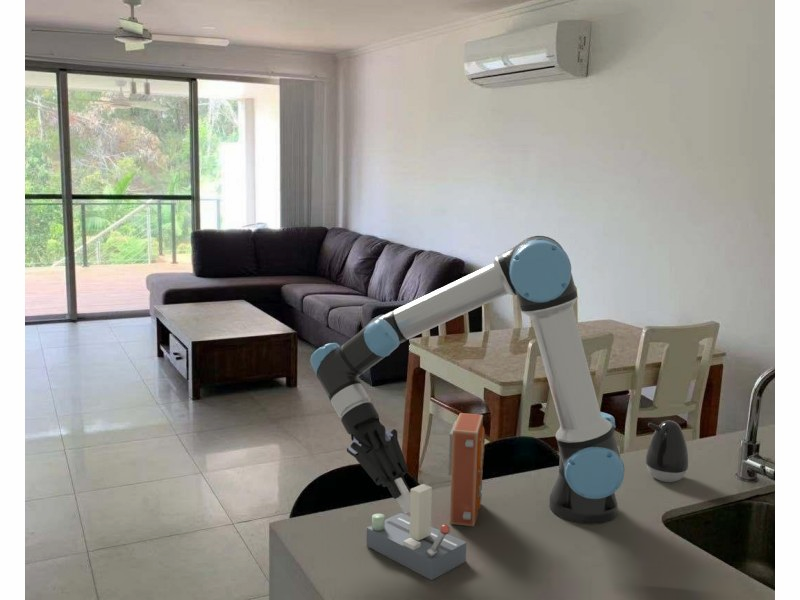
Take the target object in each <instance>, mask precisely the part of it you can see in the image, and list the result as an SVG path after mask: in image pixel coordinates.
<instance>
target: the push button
mask: <svg viewBox="0 0 800 600" xmlns="http://www.w3.org/2000/svg"><path fill="white" fill-rule="evenodd" d="M385 519H386V516H385V514H383V513H374V514H372V515H371V526H372V529H374V530H377V531H379V530H383V529H384V528H385Z"/></svg>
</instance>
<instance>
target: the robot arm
mask: <svg viewBox="0 0 800 600" xmlns="http://www.w3.org/2000/svg"><path fill="white" fill-rule="evenodd" d="M571 263H572V262H571V260H570V258H569V256H568V254H567V252H566V251H565V249H564V248H563V247H562V245H561V244H560V243H559V242H558V241H556V239H553V238H552V237H549V236H545V235H534V236H529V237H527V238H525V239H524V240H522V241H521V242H519V243H518V244H516V245H515V246H513V247H511V248H510V249H508V250H507V251H504V252H503V253H500V254H497V256H495V258H494V261H493V263H490V264H488V265H485V266H484V267H482V268H480V269H477V270H476V271H474V272H471V273H469V274H467V275H465V276H462V277H461V278H459V279H457V280H454V281H453V282H450V283H448V284H446V285H444V286H442V287H440V288H437V289H435V290H433V291H431V292H430V293H427V294H425V295H423V296H421V297H418V298H417V299H414V300H412V301H410V302H408V303H406V304H404V305H401V306H399V307H398V308H395V309H394V310H392V311H389V312H387V313H385V314H380V315H378V316H376V317H374V318H371V320H370V321H369V322H368V324H367V325H365V327H363V328H362V329H361V330H360V331H359V332H358V333H356V334H355V335H354V336H353V337H351V338H350V339H349V340H348V341H346V342H345V343H344V344H342V345H340V344H339V343H337V342H329V343H326V344H324V345H323V346H321V347H319V348H317V349H316V350H315V351H314V352H313V353H312V354H311V356H310V359H309V360H310V365H311V368H312V369H313V371H314V373H315V377H316V379H317V380H318V381H319V383H320V384H321V387H322V389H323V390H324V392H325V394H326V395H327V397H328V399H329V401H330V403H331V405H332V406H333V409H334V410H335V412H336V415H337V416H338V417H339V418H341V420H340V422H341V424H342V425H343V427H344V429H345V431H346V433H347V434H348V435H349V436H350V439H351V443H350V445H349V446H348V447H347V448H346V452H347V453H348V454H349V455H351V456H352V457H354V458H355V460H356V461H357V462H358V463H359V464H360V466H361V467H362V468H363V470H364V471H365V472H366V473H367V475H368V476H369V477H370V478H371V480H372V481H373V482H374V483H375V484H376V485H377V486H380V485H381V487H383V488H386V487H387V489H388V491H389V493H390V495H391V496H392V498H393V499H394V500H396V501H397V503H398V505H399V506H400V509H401V510H402V513H403V514H405V515H407V514H408V513H410V492H411V488H410V487H409V485H408V483H407V481H406V480H405V477H404V476H405V475H406V473H407V472H408V471H409V469H408V465H407V463H406V459H405V457H404V454H403V451H402V449H401V446H400V443H399V440H398V431H397V429H395V428H394V429H392V430H389V429H386V427H385V425H383V424H382V423H381V422H380V414H379V413H378V412H377V409H376V408H375V406H374V404H373V403H372V402H370V401H371V398H370V397H369V395H368V393H367V391H366V390H365V388H364V386H363V385H362V383H361V381H360V380H359V377H360V376H361V375H363V374H364V373H365V372H367V371H368V370H369V369H370V368H372V367H373V366H375V365H376V364H378V363H379V362H380V361H382V360H383V359H385V357H388V356H391V354H392V353H393V352H394V351H395V350H396V349H397V348H398V347H399V346H400V344H402V343H404V342H406V341H407V340H410V339H412V338H414V337H416V336H418V335H420V334H423V333H425V332H427V331H429V330H431V329H434V328H436V327H437V326H438V327H439V326H441V325H443V324H445V323H447V322H449V321H452V320H454V319H456V318H457V317H460V316H462V315H464V314H467V313H469V312H471V311H473V310H475V309H478V308H480V307H482V306H484V305H487V304H488V303H491V302H493V301H495V300H497V299H500V298H501V297H504V296H507V295H510V296H513V297H514V296H516V297H517V301H518V304H519V305H518V306H519V308H520V312H521V313H523V314H524V315H526V316H527V317H529V318H530V319H531V323H532V327H533V330H534V334H535V338H536V341H537V345H538V349H539V352H540V356H541V360H542V363H543V367H544V368H543V369H544V372H545V375H546V379H547V381H548V387H549V389H550V392H551V397H552V399H553V403H554V407H555V412H556V415H557V418H558V422H559V427H558V430H557V431H556V433H555V439H556V442H557V446H558V450H559V463H558V464H559V466H558V475H557V478H556V480H555V482H554V485H553V488H552V490H551V493H550V494H549V495H550V496H549V505H548V506H549V510H551V512H552V513H553V514H554V515H556V516H558V517H560V518H561V519H564V520H566V521H570V522H574V523H578V524H579V523H580V524H589V525H595V524H597V525H598V524H605V523H608V522H611V521H613V520H614V519H615V518H616V517H617V516H618V515H617V514H618V501H617V497H616V494H615V492H616V491H618V490H619V489H620V487H621V486H622V484H623V482H624V478H625V464H624V461H623V460H622V458H621V455H620V451H619V447H618V443H617V440H616V436H615V431H616V430H615V429H616V427H617V426H616V421H615V420H616V419H615V417H614V416H613V415H611V414H609V413H606V412H603V411H601V408H600V405H599V402H598V397H597V394H596V389H595V385H594V384H593V379H592V376H591V371H590V369H589V364H588V360H587V357H586V353H585V349H584V345H583V341H582V338H581V334H580V329H579V327H578V323H577V318H576V315H575V311H574V305H575V303H576V301H577V300H578V298H579V297H578V292H577V288H576V285H575V282H574V281H575V280H574V278H573V274H572V264H571Z"/></svg>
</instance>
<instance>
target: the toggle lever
mask: <svg viewBox="0 0 800 600" xmlns="http://www.w3.org/2000/svg"><path fill="white" fill-rule="evenodd" d="M439 530H440V533H439V534H438V536H437V538H436V540H435V542H434V543H433V545H432V547H431V548H430V549H428V550H427V551H426V554H427V556H428V557H432V556H434V555H436V554H438V553H439V550H438V548H439V546H440V544H441V542H442V541H443V539H444V537H445V535H446V534H449V533H450V531H451V529H450V526H449V525H448V524H442V525H440V529H439Z"/></svg>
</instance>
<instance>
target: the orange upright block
mask: <svg viewBox="0 0 800 600" xmlns="http://www.w3.org/2000/svg"><path fill="white" fill-rule="evenodd" d="M483 421H484V415H483V414H479V413H475V414H474V413H468V412H467V413H463V412H460V413H459V415H458V417H457V420H455V421H454V422H453V426H452V427H451V430H450V432H449V435H448V436H449V449H448V451H449V453H448V471H447V474H448V476H450V477H451V479H450V481H451V482H450V506H449V507H450V509H449V514H450V515H449V523H450V525H458V526H467V527H475V524H476V521H477V517H478V512H479V509H480V508H481V503H482V499H483V498H482V497H483V495H482V489H483V472H484V471H483V467H484V460H485V459H484V457H485V445H486V443H485V440H486V439H485V438H486V431H485V427H484V425H483V423H484V422H483Z"/></svg>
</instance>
